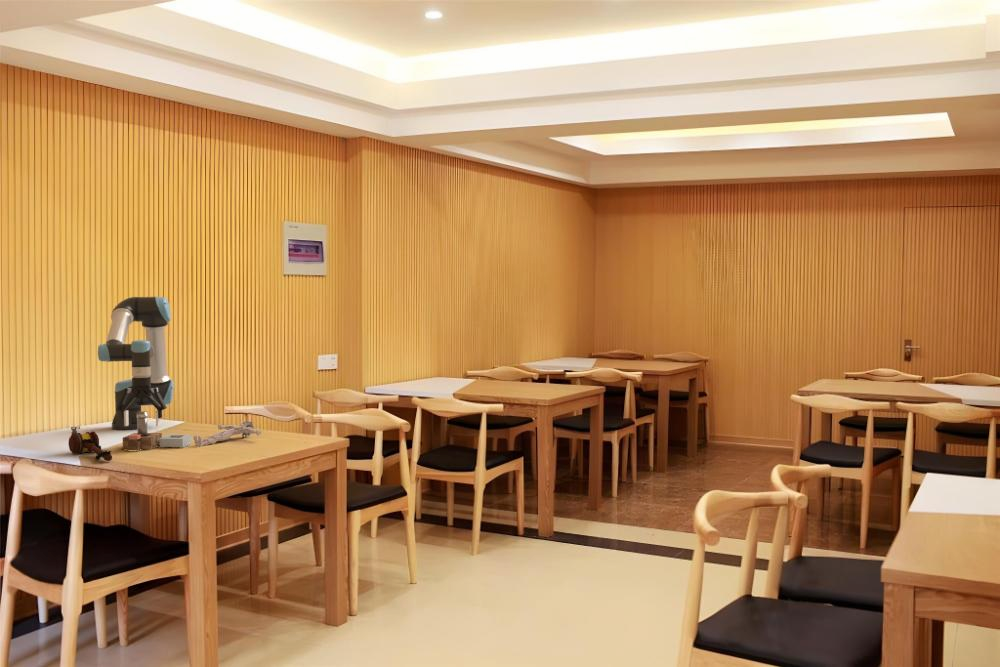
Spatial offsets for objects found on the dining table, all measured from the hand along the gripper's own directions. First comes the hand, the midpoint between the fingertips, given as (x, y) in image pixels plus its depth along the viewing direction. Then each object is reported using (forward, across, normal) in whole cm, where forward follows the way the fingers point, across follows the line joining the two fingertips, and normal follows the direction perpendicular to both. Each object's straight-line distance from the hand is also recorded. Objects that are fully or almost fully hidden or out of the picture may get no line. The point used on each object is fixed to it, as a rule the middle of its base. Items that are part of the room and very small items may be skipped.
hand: (142, 426), depth 382 cm
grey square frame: (+9, +13, +3) cm, 16 cm away
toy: (+10, +31, +15) cm, 36 cm away
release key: (+8, 0, -8) cm, 11 cm away
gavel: (+10, -11, -21) cm, 26 cm away
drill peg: (+9, 0, 0) cm, 9 cm away
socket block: (+9, 0, -2) cm, 9 cm away
